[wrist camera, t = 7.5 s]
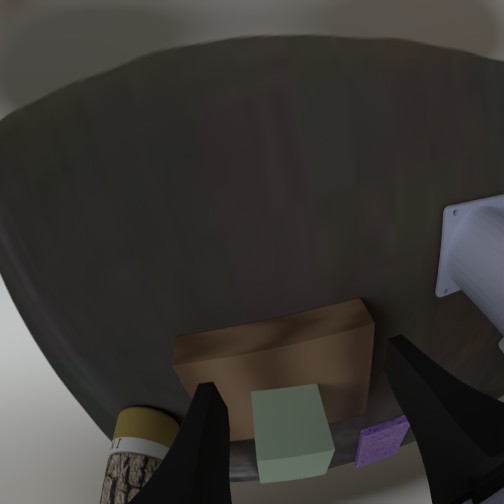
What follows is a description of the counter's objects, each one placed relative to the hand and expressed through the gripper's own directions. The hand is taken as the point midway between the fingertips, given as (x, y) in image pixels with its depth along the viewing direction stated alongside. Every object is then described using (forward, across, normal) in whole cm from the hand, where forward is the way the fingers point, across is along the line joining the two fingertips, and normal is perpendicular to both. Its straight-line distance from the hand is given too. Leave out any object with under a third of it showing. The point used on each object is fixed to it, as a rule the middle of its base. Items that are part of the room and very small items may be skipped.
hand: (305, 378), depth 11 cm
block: (+6, +2, +11) cm, 13 cm away
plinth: (+9, +2, +10) cm, 14 cm away
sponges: (+10, -10, +33) cm, 36 cm away
